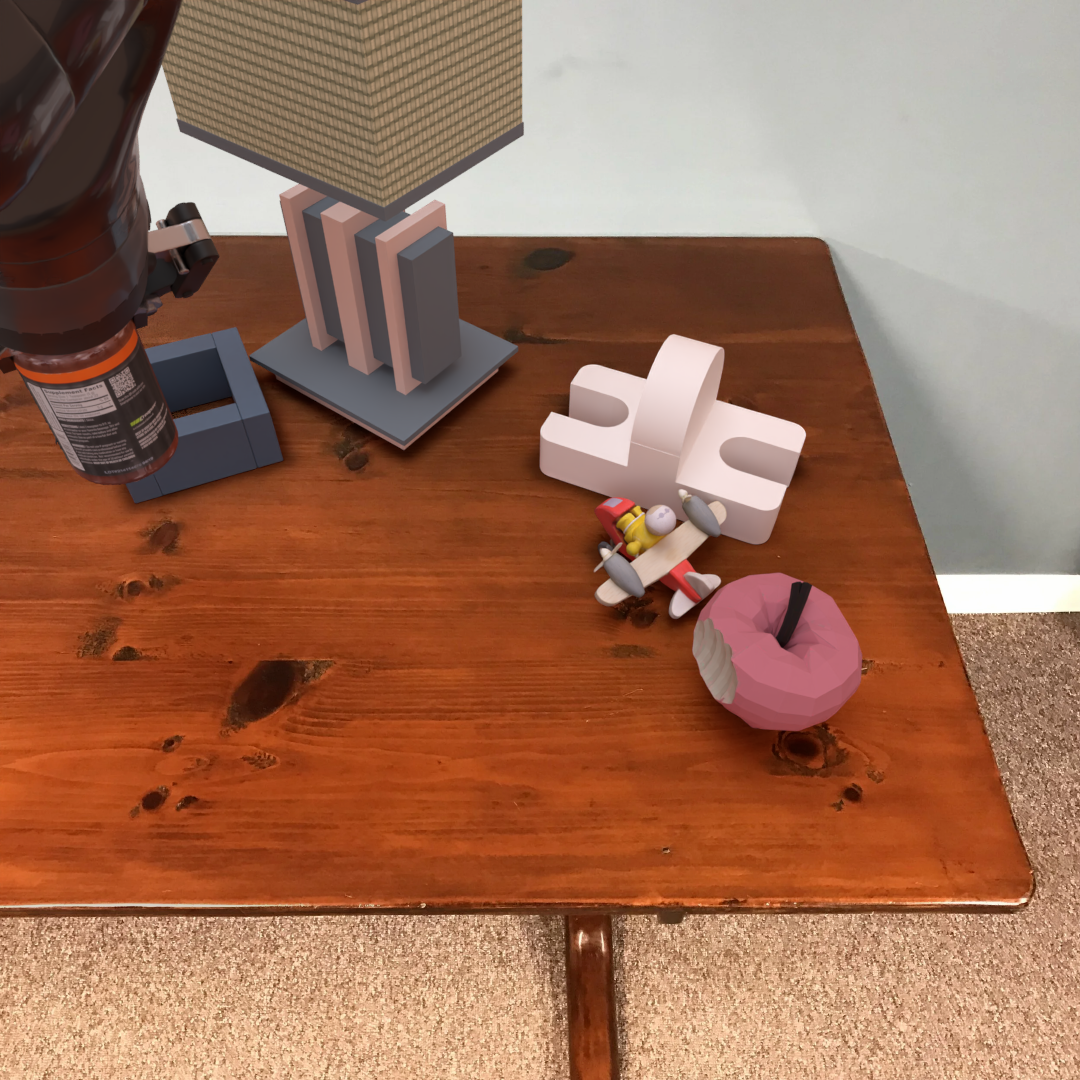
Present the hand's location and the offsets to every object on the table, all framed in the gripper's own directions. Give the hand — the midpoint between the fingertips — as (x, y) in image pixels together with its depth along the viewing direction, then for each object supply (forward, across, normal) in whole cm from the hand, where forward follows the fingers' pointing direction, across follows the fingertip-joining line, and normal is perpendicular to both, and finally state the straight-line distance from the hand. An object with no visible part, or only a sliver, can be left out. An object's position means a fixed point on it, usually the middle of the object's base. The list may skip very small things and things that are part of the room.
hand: (67, 330), depth 46 cm
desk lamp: (+22, -22, +7) cm, 32 cm away
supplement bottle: (+4, 0, +7) cm, 8 cm away
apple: (-6, -26, +35) cm, 44 cm away
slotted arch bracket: (+7, -34, +22) cm, 41 cm away
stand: (+23, -6, +5) cm, 24 cm away
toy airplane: (+1, -27, +27) cm, 38 cm away
